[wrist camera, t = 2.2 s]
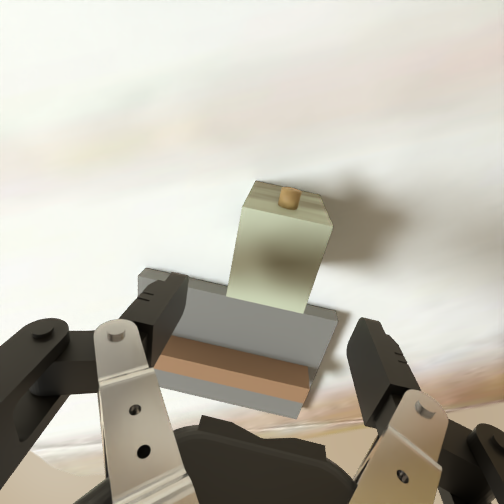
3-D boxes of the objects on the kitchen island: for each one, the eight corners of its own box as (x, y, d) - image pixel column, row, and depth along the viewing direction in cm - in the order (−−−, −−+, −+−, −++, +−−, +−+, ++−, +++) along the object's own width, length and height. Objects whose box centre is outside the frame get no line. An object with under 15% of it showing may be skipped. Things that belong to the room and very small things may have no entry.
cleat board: (145, 267, 26) (122, 291, 22) (335, 310, 25) (343, 342, 22) (143, 370, 32) (125, 402, 28) (296, 406, 32) (297, 443, 28)
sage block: (258, 167, 21) (245, 188, 14) (323, 181, 21) (339, 209, 14) (242, 249, 24) (226, 296, 18) (298, 262, 24) (303, 313, 17)
